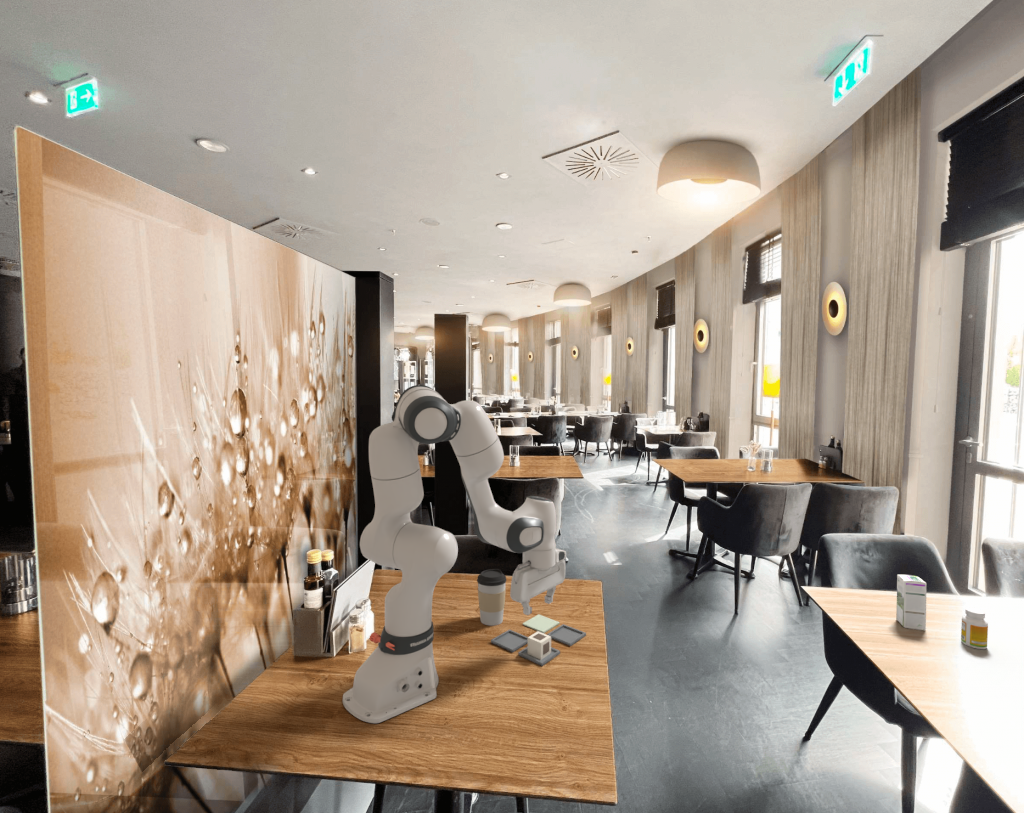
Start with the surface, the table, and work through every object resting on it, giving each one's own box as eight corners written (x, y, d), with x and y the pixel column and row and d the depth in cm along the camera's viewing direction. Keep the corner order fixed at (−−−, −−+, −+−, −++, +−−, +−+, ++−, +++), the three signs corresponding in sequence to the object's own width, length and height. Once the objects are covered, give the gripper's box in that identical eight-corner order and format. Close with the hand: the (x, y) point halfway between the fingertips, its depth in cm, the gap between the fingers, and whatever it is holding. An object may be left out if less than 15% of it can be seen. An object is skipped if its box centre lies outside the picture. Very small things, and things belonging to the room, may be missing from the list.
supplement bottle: (991, 648, 138) (993, 613, 137) (978, 651, 136) (980, 616, 136) (968, 638, 143) (970, 605, 143) (956, 641, 141) (957, 607, 141)
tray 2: (542, 666, 128) (542, 663, 128) (518, 655, 133) (518, 652, 133) (560, 653, 134) (560, 650, 134) (536, 643, 139) (536, 640, 139)
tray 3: (570, 646, 138) (570, 643, 138) (547, 636, 143) (547, 634, 143) (586, 635, 144) (586, 632, 144) (563, 626, 149) (563, 624, 149)
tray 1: (512, 652, 134) (512, 649, 134) (490, 642, 140) (490, 639, 139) (530, 641, 140) (531, 638, 140) (509, 632, 146) (509, 629, 146)
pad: (543, 633, 145) (543, 631, 145) (522, 624, 150) (522, 623, 150) (559, 623, 151) (559, 622, 151) (538, 615, 156) (538, 614, 156)
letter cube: (541, 660, 130) (541, 642, 130) (527, 653, 133) (527, 637, 133) (551, 653, 134) (551, 636, 133) (537, 647, 137) (537, 630, 136)
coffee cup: (493, 630, 147) (493, 580, 146) (470, 621, 152) (470, 573, 151) (512, 619, 154) (512, 571, 153) (489, 610, 159) (489, 564, 159)
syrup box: (926, 631, 147) (928, 582, 147) (902, 627, 149) (904, 580, 149) (917, 622, 153) (919, 575, 152) (894, 619, 155) (896, 573, 154)
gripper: (524, 569, 123) (523, 625, 123) (569, 550, 139) (568, 599, 139) (504, 563, 127) (504, 617, 127) (551, 545, 143) (550, 593, 143)
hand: (538, 608), depth 133 cm, fingers open, 8 cm apart
